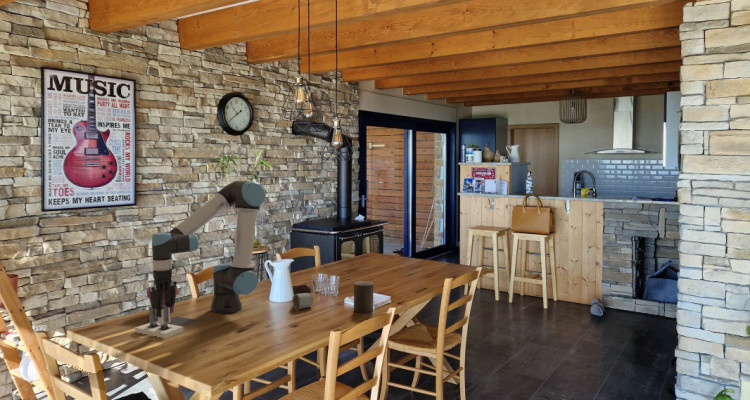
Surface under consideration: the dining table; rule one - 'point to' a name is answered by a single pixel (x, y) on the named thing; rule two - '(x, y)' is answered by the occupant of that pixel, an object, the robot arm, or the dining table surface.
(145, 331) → the hole board
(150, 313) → the seated peg
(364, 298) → the pillar candle
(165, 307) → the peg
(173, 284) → the robot arm
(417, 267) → the dining table surface
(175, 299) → the plant pot
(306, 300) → the grey cylinder
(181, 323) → the mat
